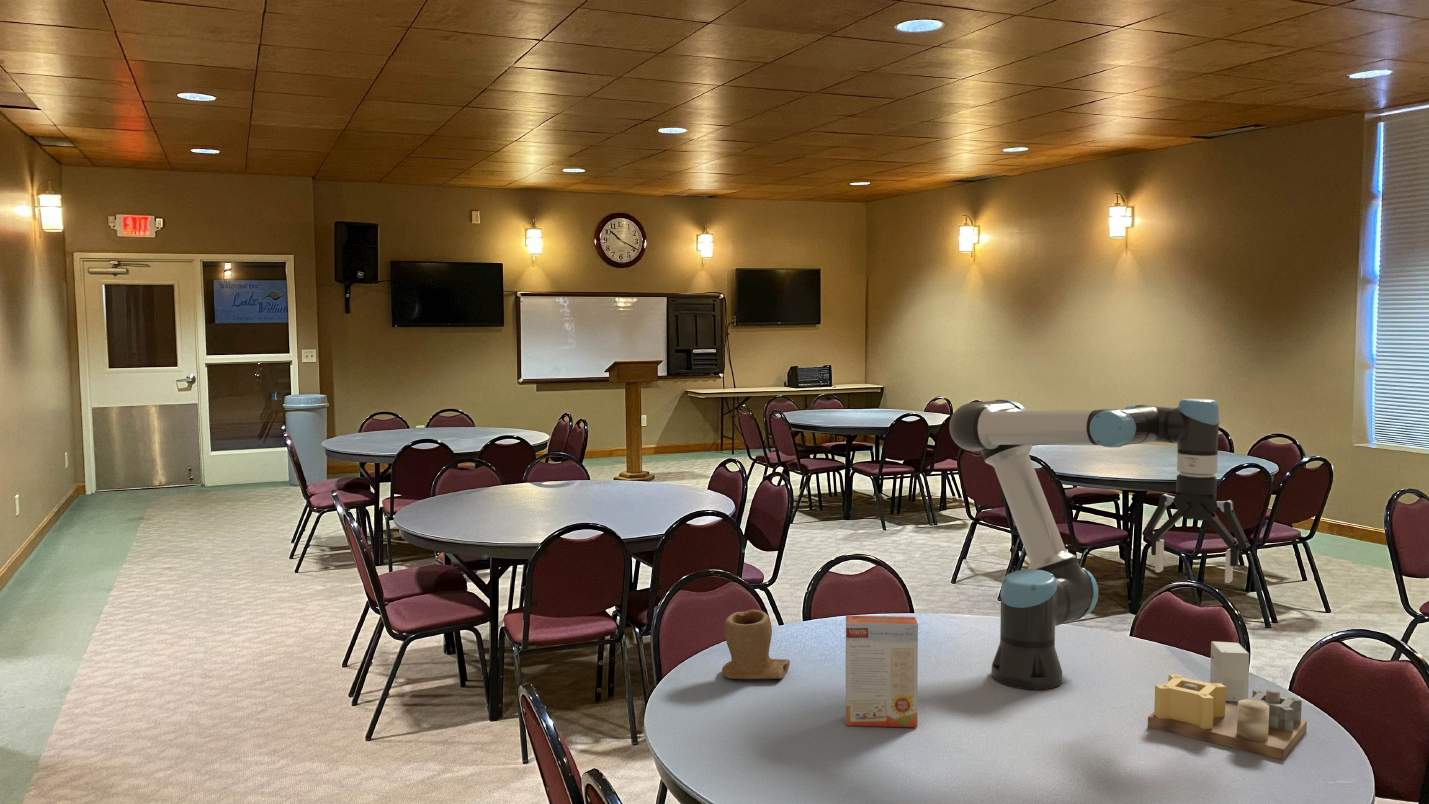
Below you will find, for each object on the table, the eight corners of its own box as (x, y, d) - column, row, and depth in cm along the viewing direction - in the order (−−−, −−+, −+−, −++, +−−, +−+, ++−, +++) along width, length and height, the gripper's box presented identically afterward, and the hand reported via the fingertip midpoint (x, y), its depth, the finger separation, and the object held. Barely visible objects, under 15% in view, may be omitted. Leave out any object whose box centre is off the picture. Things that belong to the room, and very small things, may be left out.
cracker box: (915, 717, 211) (916, 615, 209) (917, 729, 205) (919, 624, 203) (844, 714, 212) (845, 613, 210) (845, 726, 206) (846, 621, 204)
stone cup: (719, 686, 229) (719, 618, 228) (724, 668, 241) (724, 603, 240) (788, 688, 227) (789, 620, 226) (790, 670, 239) (790, 605, 238)
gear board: (1147, 726, 206) (1148, 686, 205) (1177, 701, 219) (1178, 664, 219) (1283, 760, 190) (1285, 717, 189) (1306, 730, 203) (1308, 690, 203)
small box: (1248, 703, 218) (1250, 653, 218) (1219, 701, 220) (1221, 651, 219) (1237, 689, 226) (1238, 642, 225) (1209, 688, 227) (1210, 640, 227)
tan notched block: (1151, 716, 206) (1152, 686, 205) (1169, 701, 214) (1170, 672, 213) (1210, 730, 198) (1211, 699, 198) (1227, 714, 207) (1228, 684, 206)
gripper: (1128, 470, 220) (1125, 570, 222) (1258, 482, 204) (1254, 589, 206) (1140, 466, 226) (1137, 564, 228) (1268, 478, 210) (1264, 582, 211)
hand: (1193, 576), depth 217 cm, fingers open, 13 cm apart
